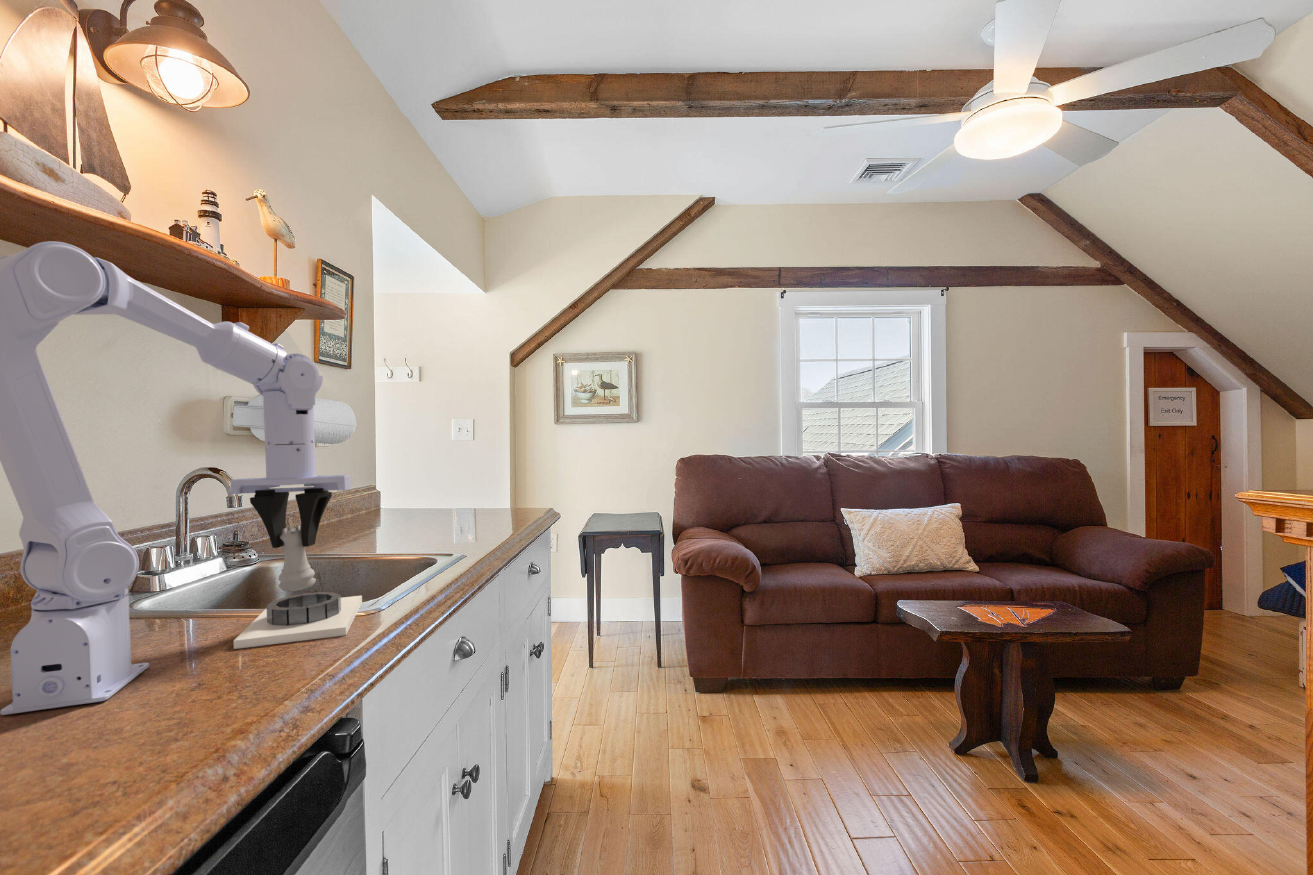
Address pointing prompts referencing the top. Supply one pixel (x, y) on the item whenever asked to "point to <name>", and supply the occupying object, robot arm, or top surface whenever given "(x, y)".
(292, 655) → the top surface
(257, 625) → the mount plate
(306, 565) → the rook chess piece
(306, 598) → the segmented grey ring
